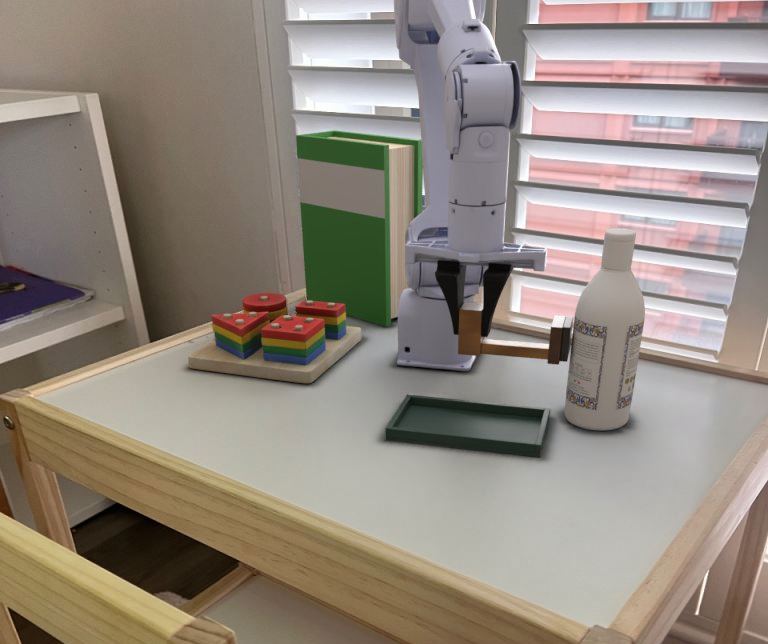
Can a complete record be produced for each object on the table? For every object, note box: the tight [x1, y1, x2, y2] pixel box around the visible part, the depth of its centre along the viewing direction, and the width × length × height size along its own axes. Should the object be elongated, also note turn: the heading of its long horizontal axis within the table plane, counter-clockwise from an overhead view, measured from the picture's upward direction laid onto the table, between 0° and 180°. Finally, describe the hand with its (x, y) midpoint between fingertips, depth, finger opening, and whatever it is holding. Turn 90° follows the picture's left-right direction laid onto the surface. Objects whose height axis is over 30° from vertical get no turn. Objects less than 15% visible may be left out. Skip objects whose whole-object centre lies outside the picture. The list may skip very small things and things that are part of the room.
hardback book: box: [295, 129, 423, 328], centre depth 117 cm, size 18×7×24 cm, turn 45°
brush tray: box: [384, 394, 551, 458], centre depth 86 cm, size 16×9×1 cm, turn 74°
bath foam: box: [563, 227, 646, 432], centre depth 83 cm, size 7×7×20 cm
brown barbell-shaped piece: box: [458, 301, 574, 366], centre depth 86 cm, size 12×4×5 cm, turn 74°
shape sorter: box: [187, 292, 362, 384], centre depth 106 cm, size 18×17×6 cm
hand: (471, 333), depth 87 cm, fingers closed on brown barbell-shaped piece, 2 cm apart
